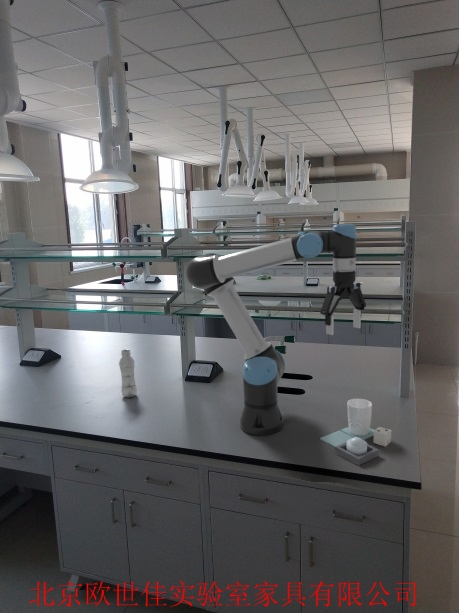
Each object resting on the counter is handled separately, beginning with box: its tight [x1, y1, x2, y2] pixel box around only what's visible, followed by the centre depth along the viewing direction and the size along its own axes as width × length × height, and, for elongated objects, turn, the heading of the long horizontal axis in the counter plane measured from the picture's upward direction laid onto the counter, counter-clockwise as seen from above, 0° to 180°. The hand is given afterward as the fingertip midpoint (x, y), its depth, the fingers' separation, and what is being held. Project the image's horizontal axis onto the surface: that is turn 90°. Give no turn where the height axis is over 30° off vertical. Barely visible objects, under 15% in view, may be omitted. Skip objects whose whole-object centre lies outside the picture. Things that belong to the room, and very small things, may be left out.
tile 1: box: [319, 429, 354, 448], centre depth 144 cm, size 9×9×1 cm
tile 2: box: [339, 426, 376, 441], centre depth 149 cm, size 9×9×1 cm
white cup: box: [346, 398, 373, 436], centre depth 148 cm, size 8×8×10 cm
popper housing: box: [334, 442, 380, 466], centre depth 135 cm, size 9×9×2 cm
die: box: [373, 426, 392, 448], centre depth 141 cm, size 4×4×4 cm
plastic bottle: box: [118, 348, 138, 398], centre depth 186 cm, size 6×7×20 cm
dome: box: [346, 437, 368, 456], centre depth 134 cm, size 6×6×5 cm
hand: (343, 330), depth 155 cm, fingers open, 13 cm apart
